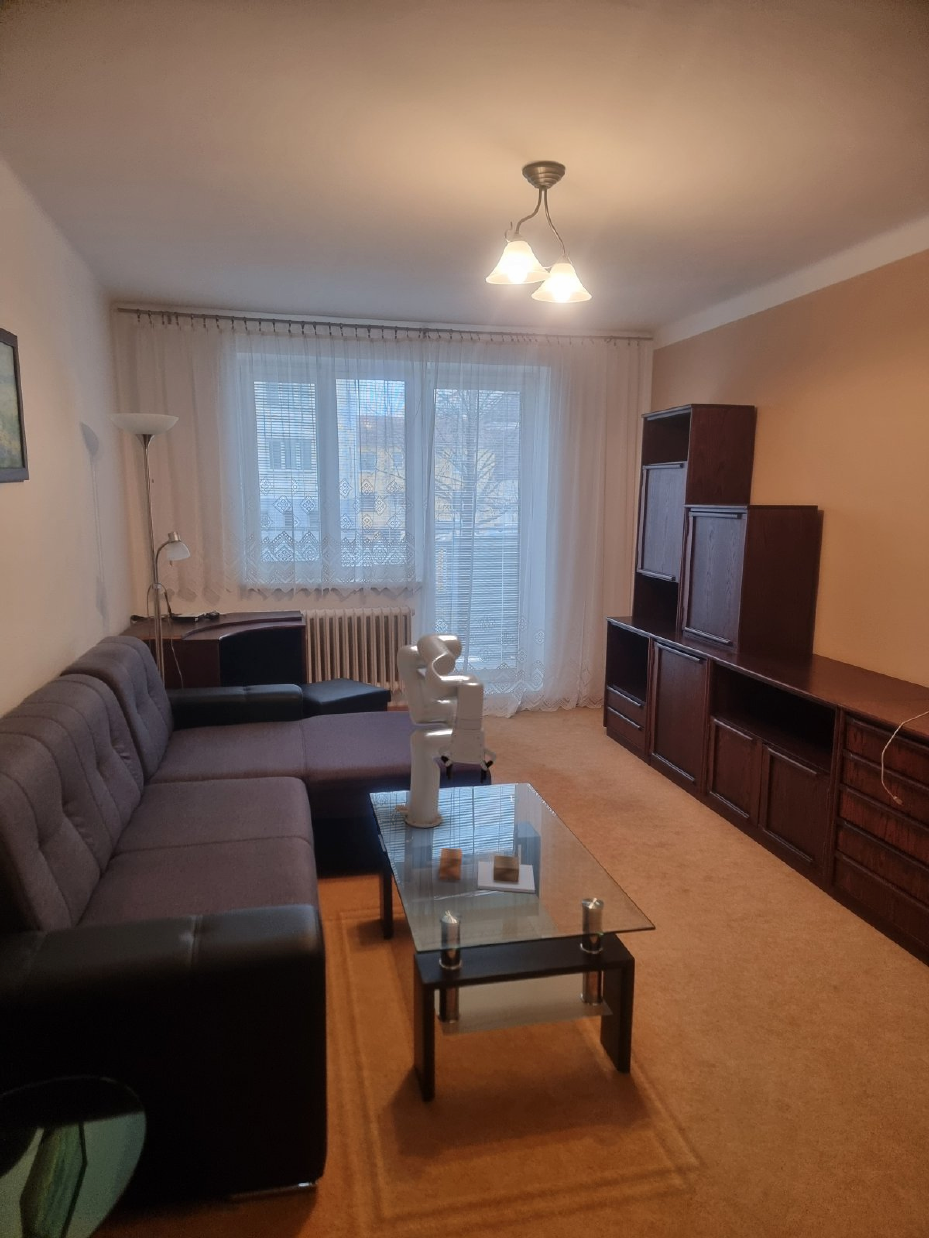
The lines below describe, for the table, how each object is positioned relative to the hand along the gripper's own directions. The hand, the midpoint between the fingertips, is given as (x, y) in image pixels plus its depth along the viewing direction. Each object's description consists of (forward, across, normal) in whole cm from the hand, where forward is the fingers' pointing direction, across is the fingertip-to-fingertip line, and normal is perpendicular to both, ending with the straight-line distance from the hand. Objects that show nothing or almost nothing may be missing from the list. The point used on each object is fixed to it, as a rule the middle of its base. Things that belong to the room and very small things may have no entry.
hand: (466, 779), depth 222 cm
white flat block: (+27, +14, -4) cm, 30 cm away
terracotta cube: (+26, -2, -5) cm, 27 cm away
